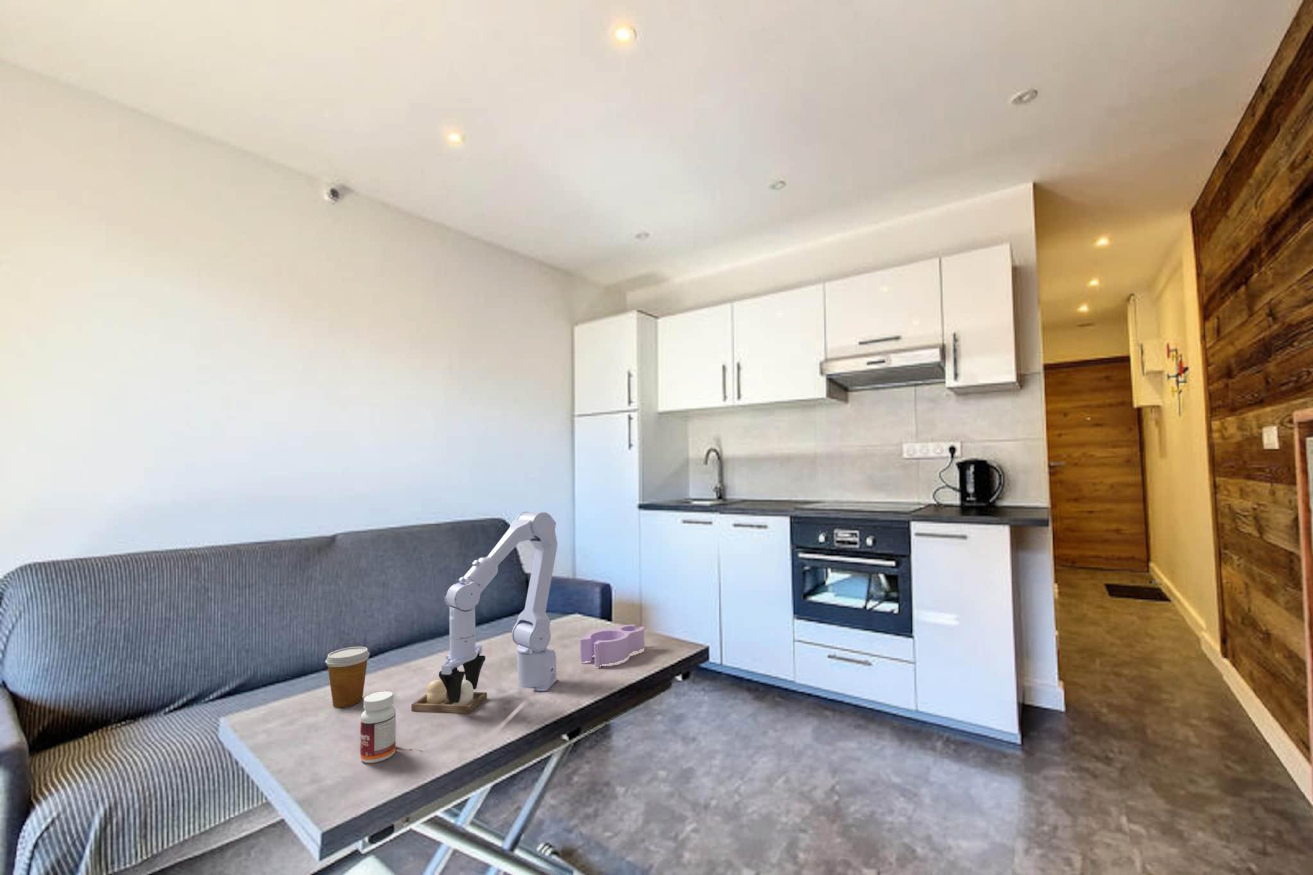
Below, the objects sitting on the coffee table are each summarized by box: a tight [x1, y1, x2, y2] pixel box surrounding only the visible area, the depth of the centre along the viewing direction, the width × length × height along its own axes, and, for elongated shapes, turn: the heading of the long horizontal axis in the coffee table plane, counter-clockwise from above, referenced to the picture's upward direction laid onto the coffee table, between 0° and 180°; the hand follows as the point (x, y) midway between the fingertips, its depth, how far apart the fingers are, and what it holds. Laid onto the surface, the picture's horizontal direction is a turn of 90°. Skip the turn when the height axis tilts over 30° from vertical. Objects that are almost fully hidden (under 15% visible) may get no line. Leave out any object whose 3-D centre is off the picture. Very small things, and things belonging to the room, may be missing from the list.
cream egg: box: [452, 679, 474, 705], centre depth 127 cm, size 4×4×6 cm
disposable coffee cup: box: [325, 646, 371, 708], centre depth 133 cm, size 10×10×12 cm
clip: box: [579, 624, 646, 668], centre depth 159 cm, size 20×12×7 cm, turn 135°
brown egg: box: [426, 679, 446, 704], centre depth 128 cm, size 4×4×6 cm
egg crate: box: [410, 691, 488, 715], centre depth 127 cm, size 14×8×2 cm, turn 80°
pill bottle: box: [359, 690, 397, 764], centre depth 106 cm, size 6×6×11 cm
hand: (463, 695), depth 127 cm, fingers open, 7 cm apart
